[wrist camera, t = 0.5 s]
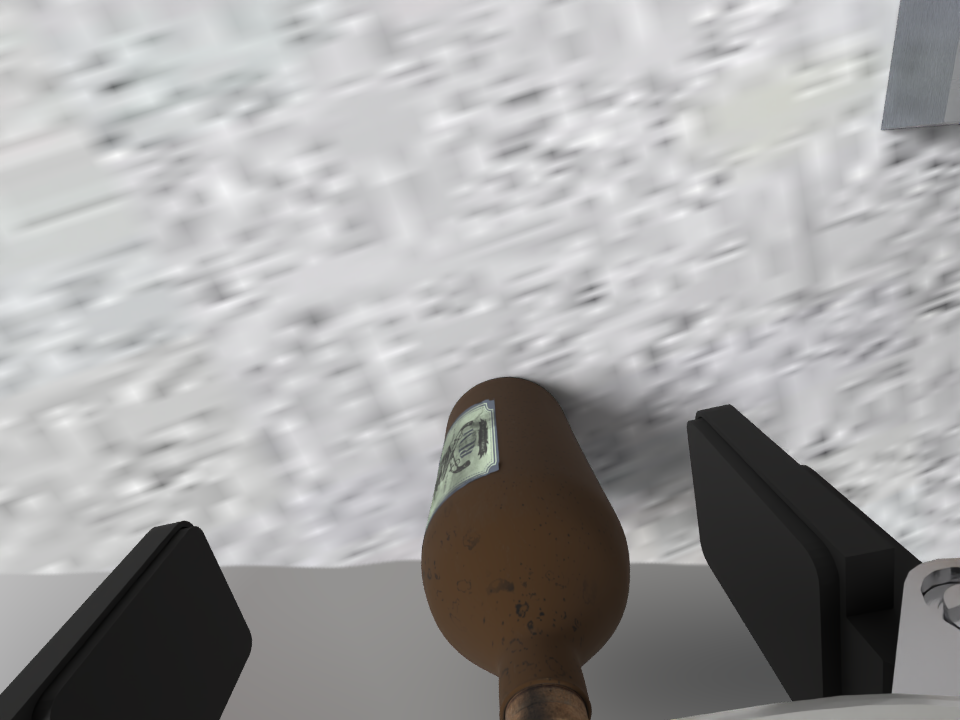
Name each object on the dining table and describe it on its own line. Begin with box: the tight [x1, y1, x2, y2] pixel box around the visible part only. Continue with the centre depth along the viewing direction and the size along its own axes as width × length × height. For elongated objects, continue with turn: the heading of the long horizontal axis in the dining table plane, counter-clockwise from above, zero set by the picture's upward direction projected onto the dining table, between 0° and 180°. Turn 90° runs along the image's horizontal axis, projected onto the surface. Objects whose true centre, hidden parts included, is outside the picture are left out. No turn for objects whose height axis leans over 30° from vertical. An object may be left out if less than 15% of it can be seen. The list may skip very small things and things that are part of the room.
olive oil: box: [421, 377, 630, 720], centre depth 30 cm, size 11×11×25 cm
